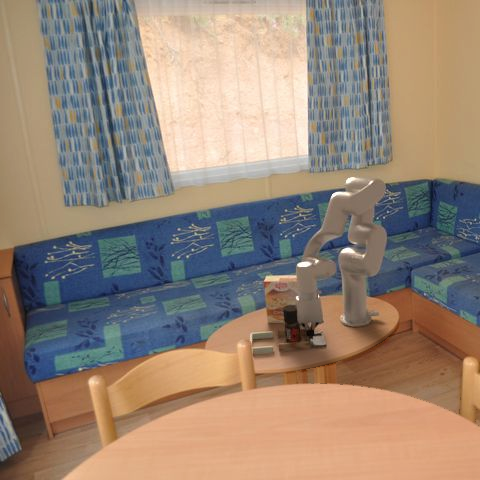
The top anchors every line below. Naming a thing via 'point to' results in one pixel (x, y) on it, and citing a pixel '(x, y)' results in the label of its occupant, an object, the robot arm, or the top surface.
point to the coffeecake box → (279, 295)
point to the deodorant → (291, 324)
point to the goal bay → (260, 336)
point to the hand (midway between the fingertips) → (310, 337)
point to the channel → (293, 345)
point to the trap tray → (317, 340)
